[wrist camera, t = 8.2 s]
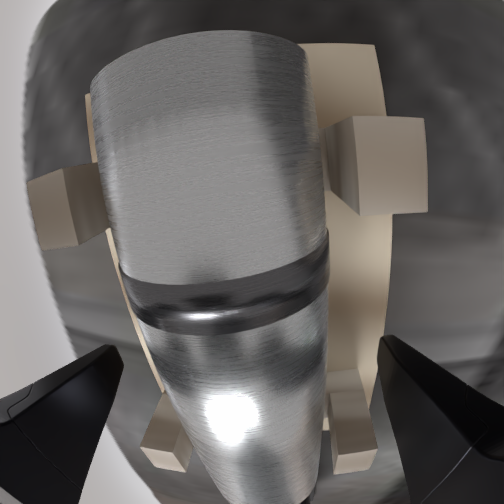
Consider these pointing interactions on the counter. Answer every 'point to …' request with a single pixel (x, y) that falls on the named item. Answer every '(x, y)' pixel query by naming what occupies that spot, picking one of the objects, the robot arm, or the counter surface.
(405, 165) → the collar stand
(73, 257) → the counter surface
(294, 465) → the metal tube
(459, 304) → the counter surface
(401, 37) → the counter surface
